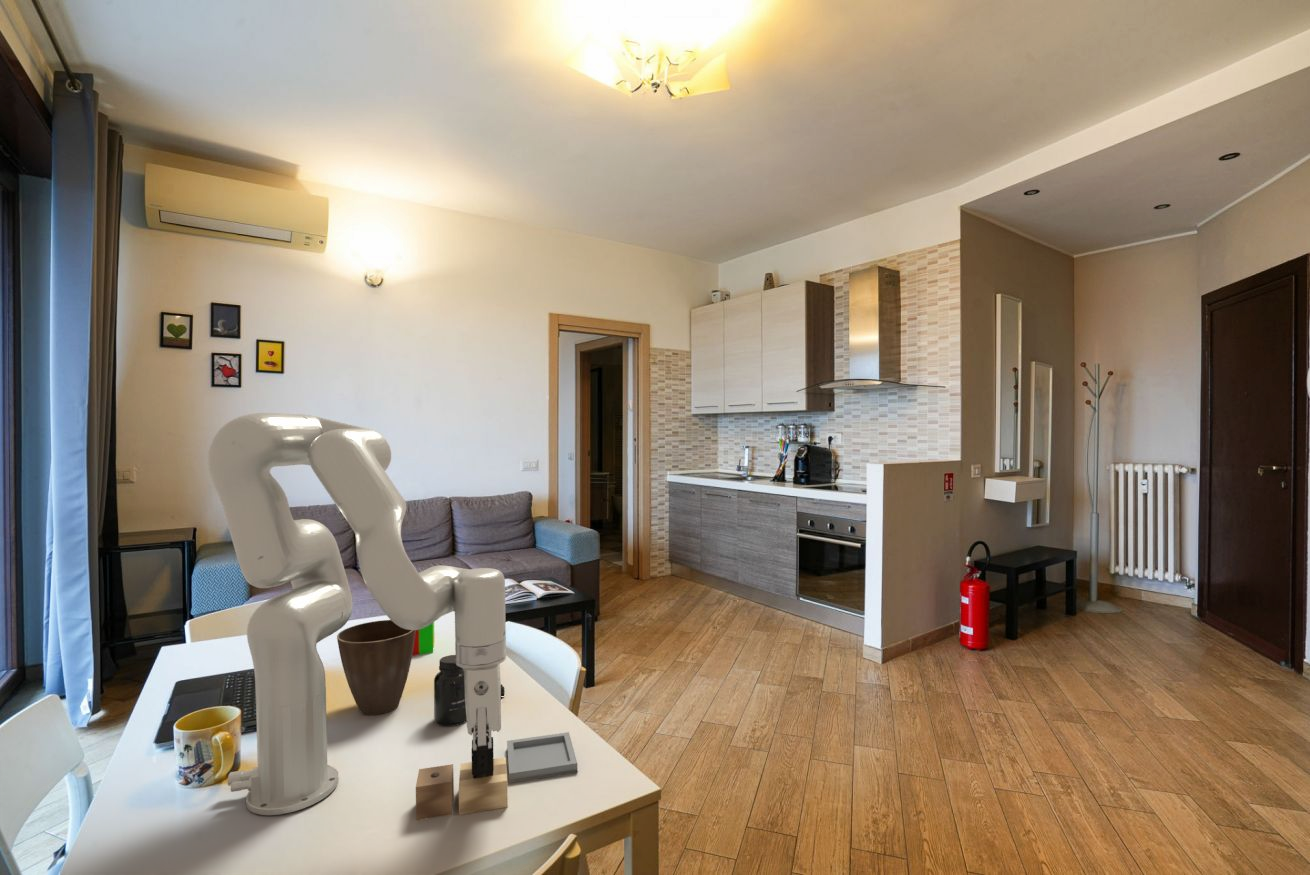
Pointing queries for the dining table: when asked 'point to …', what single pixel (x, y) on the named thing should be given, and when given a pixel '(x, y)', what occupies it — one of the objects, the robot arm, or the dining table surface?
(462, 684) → the supplement bottle
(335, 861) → the dining table surface
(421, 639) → the puzzle toy
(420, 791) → the walnut block
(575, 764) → the tray
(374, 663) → the plant pot
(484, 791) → the oak block
